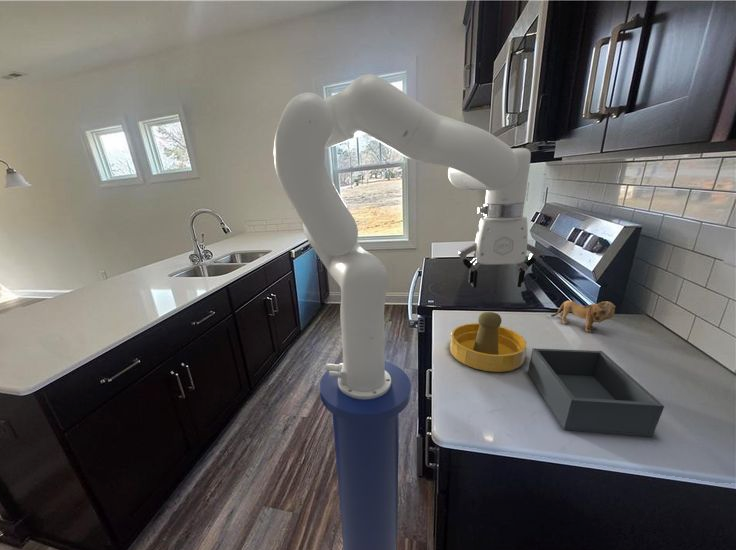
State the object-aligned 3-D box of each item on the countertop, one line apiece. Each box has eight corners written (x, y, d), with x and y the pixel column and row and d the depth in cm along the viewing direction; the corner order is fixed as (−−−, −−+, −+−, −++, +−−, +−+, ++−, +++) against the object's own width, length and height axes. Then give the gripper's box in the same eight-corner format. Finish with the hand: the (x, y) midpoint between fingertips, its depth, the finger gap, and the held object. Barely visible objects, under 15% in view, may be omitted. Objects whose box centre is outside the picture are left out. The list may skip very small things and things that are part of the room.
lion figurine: (611, 331, 88) (620, 301, 85) (604, 337, 86) (613, 306, 82) (553, 315, 100) (559, 288, 96) (545, 320, 97) (551, 292, 94)
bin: (563, 429, 57) (571, 400, 54) (527, 373, 73) (532, 348, 70) (652, 437, 54) (664, 406, 52) (594, 376, 70) (601, 350, 68)
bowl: (455, 370, 76) (457, 354, 74) (446, 336, 91) (447, 322, 90) (534, 374, 72) (538, 357, 71) (510, 338, 88) (513, 323, 86)
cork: (476, 358, 79) (481, 318, 75) (470, 346, 85) (474, 308, 81) (501, 359, 78) (508, 319, 74) (494, 346, 84) (499, 308, 80)
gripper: (464, 215, 67) (459, 291, 73) (555, 211, 64) (541, 290, 70) (458, 211, 74) (454, 280, 80) (540, 207, 70) (528, 280, 77)
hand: (494, 285), depth 75 cm, fingers open, 9 cm apart
